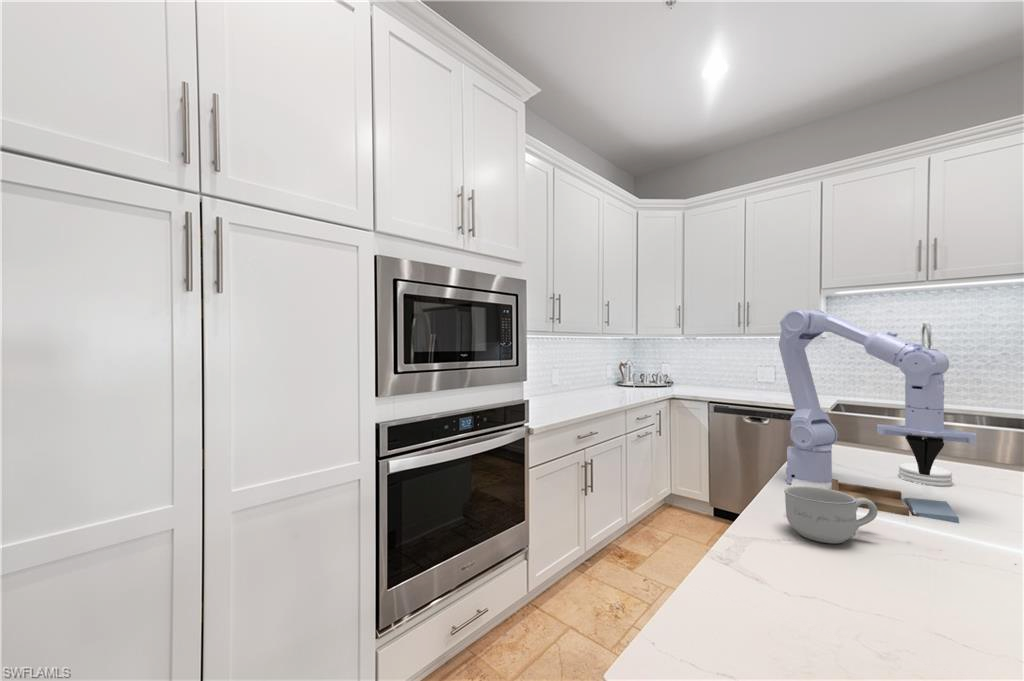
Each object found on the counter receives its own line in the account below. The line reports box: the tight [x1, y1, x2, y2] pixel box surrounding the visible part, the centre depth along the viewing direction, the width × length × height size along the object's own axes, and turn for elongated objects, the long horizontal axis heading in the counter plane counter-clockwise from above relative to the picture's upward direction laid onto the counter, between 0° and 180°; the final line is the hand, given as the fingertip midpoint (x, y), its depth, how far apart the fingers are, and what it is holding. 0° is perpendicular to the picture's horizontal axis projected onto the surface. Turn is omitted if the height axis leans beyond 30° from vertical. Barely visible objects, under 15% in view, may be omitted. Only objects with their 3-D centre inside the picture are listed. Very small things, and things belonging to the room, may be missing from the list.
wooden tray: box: [831, 478, 910, 517], centre depth 91 cm, size 12×12×4 cm
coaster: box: [898, 462, 953, 488], centre depth 110 cm, size 10×10×4 cm
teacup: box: [783, 485, 878, 544], centre depth 77 cm, size 14×11×8 cm
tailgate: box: [903, 497, 960, 524], centre depth 85 cm, size 1×11×6 cm
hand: (924, 473), depth 87 cm, fingers closed
